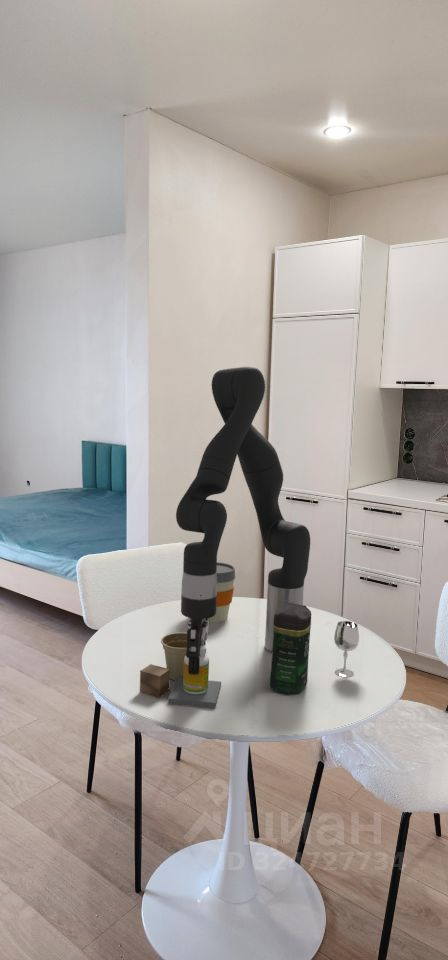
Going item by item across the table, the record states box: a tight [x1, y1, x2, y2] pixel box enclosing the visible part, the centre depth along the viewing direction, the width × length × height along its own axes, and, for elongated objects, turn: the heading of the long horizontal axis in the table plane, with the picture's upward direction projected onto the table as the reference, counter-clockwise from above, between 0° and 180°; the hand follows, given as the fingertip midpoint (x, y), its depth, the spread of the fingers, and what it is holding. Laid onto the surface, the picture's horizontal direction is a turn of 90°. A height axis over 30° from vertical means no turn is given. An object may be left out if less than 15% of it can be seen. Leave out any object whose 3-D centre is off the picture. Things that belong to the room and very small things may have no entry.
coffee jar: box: [269, 603, 312, 696], centre depth 141 cm, size 10×8×19 cm
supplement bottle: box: [183, 645, 210, 695], centre depth 136 cm, size 5×5×10 cm
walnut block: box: [139, 663, 171, 699], centre depth 138 cm, size 5×4×5 cm
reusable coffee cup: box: [208, 561, 236, 624], centre depth 185 cm, size 13×13×15 cm
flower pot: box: [160, 632, 187, 682], centre depth 146 cm, size 9×9×9 cm
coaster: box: [167, 678, 222, 709], centre depth 137 cm, size 10×10×1 cm
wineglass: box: [333, 620, 360, 678], centre depth 150 cm, size 6×6×12 cm
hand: (197, 665), depth 136 cm, fingers open, 8 cm apart
